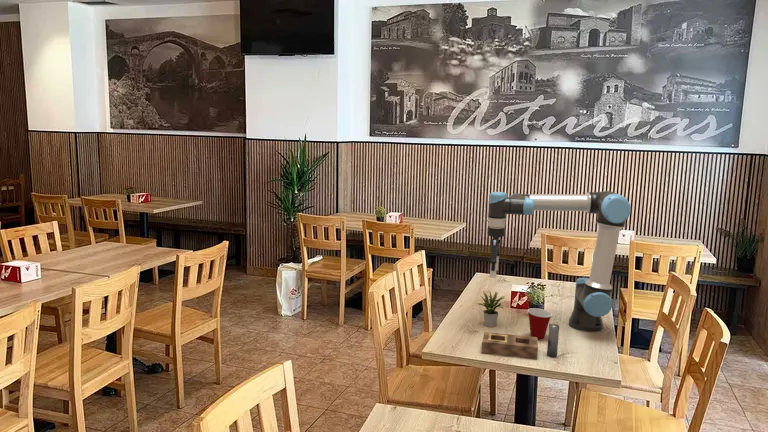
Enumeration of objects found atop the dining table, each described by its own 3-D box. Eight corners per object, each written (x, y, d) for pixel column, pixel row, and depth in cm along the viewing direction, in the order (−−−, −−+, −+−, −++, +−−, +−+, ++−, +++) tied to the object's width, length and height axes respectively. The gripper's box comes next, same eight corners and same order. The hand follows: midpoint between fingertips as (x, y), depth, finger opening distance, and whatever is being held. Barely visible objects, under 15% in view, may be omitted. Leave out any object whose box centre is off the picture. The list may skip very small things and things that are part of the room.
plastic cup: (551, 343, 260) (553, 316, 258) (526, 340, 262) (527, 314, 260) (549, 334, 270) (551, 308, 268) (525, 332, 272) (527, 306, 270)
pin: (556, 354, 247) (559, 324, 245) (557, 358, 243) (559, 327, 241) (546, 353, 248) (548, 323, 246) (546, 357, 244) (549, 326, 242)
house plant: (506, 332, 271) (508, 297, 268) (475, 329, 273) (477, 294, 271) (506, 322, 285) (508, 288, 282) (476, 319, 287) (478, 286, 285)
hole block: (536, 348, 253) (537, 336, 252) (537, 359, 241) (537, 347, 240) (483, 342, 257) (484, 331, 257) (481, 353, 246) (482, 341, 245)
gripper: (490, 222, 279) (487, 266, 282) (485, 231, 255) (482, 280, 258) (506, 223, 277) (504, 267, 280) (503, 232, 253) (500, 281, 256)
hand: (493, 273), depth 269 cm, fingers open, 13 cm apart
